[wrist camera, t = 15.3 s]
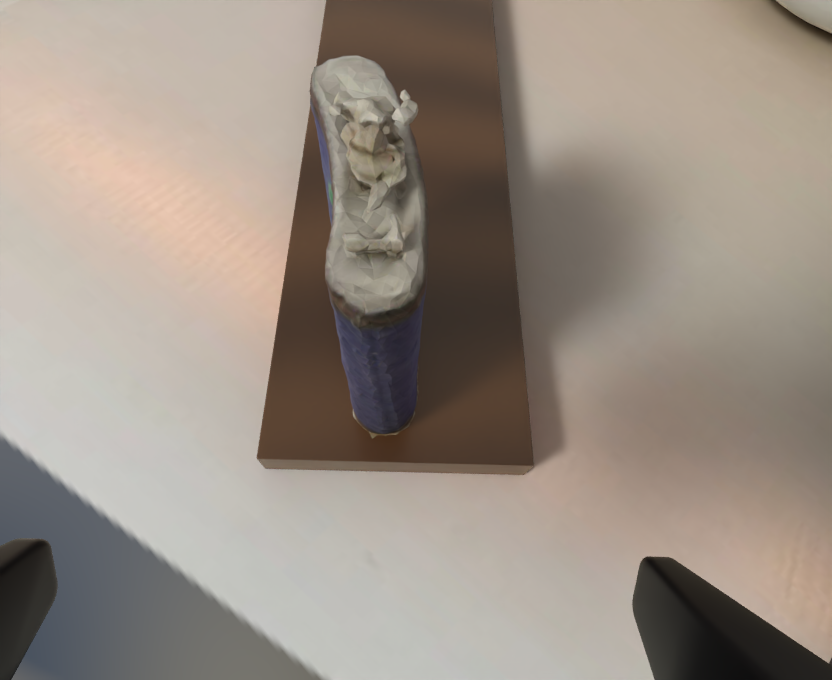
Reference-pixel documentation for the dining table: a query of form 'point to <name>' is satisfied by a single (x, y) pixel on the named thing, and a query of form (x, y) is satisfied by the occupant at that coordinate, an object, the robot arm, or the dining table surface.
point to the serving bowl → (811, 11)
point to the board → (447, 264)
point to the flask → (373, 236)
